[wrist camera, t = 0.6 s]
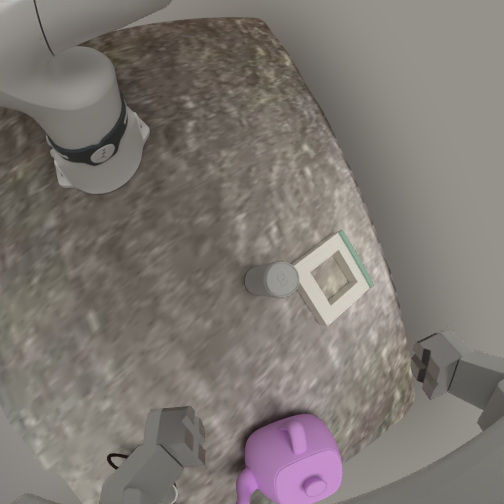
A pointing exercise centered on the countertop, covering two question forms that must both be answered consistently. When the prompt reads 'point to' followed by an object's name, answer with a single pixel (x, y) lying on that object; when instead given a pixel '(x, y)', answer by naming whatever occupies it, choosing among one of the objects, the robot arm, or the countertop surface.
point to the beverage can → (272, 280)
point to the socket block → (350, 267)
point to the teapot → (291, 462)
